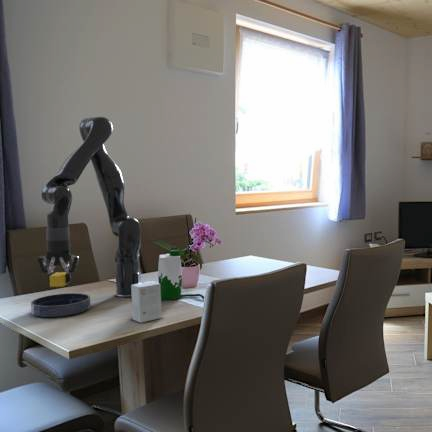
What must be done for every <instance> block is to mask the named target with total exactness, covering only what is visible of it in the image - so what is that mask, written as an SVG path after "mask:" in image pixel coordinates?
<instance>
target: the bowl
mask: <svg viewBox="0 0 432 432" xmlns="http://www.w3.org/2000/svg"><path fill="white" fill-rule="evenodd" d="M89 309H91V296H90V295H89V294H86V293H80V292H79V293H78V292H69V293H66V292H65V293H56V294H49V295H45V296H41V297H37V298H35V299H33V300H31V301H30V312H31V315H32V316H34V317H40V318H64V317H69V316H75V315H78V314H81V313H83V312H86V311H88V310H89Z"/></svg>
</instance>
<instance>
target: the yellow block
mask: <svg viewBox="0 0 432 432" xmlns="http://www.w3.org/2000/svg"><path fill="white" fill-rule="evenodd" d="M53 273H54V274H53V275H51V276H50V283H49V287H50V288H56V287H58V288H59V287H61V288H62V287H65V286H66V285H67V284H66V276H65V274H66V272H65V271H60V272H59V271H58V272H57V271H56V272H53Z"/></svg>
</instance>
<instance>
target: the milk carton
mask: <svg viewBox="0 0 432 432" xmlns="http://www.w3.org/2000/svg"><path fill="white" fill-rule="evenodd" d="M181 259H182V254H181V250H180V249H170V250H169V253H166V254H165V253H164V254H159V256H158V266H157V275H158V276H157V277H158V278H157V279H158V283H160V286H161V298H162V299H161V301H170V300H181V297H180V296H181V295H182V287H183V280H182V278H183V276H182V275H183V274H182V273H183V272H182V269H183V268H182V260H181Z"/></svg>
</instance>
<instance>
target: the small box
mask: <svg viewBox="0 0 432 432" xmlns="http://www.w3.org/2000/svg"><path fill="white" fill-rule="evenodd" d="M143 282H144V283H139V284H133V285H131V291H132V296H131V312H132V320H133V321H135V322H138V323H141V324H142V323H146V322H149V321H153V320H158V319H162V318H163V317H162V299H161V286H160V283H159V282H157V281H153V280H151V281H143Z"/></svg>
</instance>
